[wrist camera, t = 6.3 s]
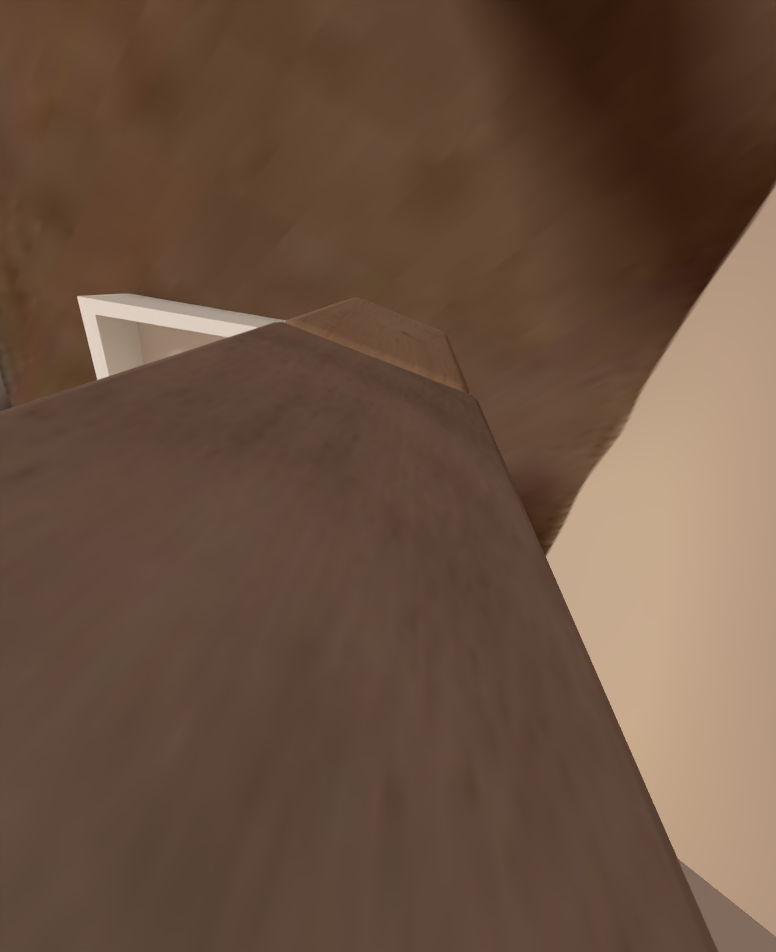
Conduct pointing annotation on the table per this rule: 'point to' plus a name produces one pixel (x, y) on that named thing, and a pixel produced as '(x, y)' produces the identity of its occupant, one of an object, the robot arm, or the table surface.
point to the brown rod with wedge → (303, 671)
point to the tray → (153, 329)
